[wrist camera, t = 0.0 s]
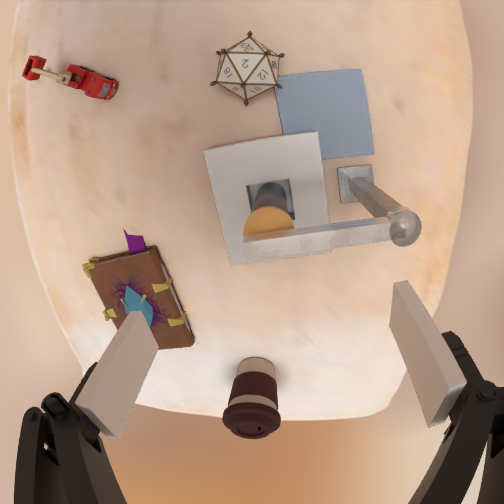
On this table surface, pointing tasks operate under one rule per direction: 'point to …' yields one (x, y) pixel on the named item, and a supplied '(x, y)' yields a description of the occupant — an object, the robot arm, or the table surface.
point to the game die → (248, 68)
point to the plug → (269, 211)
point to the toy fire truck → (73, 78)
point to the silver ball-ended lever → (336, 235)
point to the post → (364, 190)
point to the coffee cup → (253, 400)
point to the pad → (328, 110)
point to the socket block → (263, 171)
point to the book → (140, 292)
